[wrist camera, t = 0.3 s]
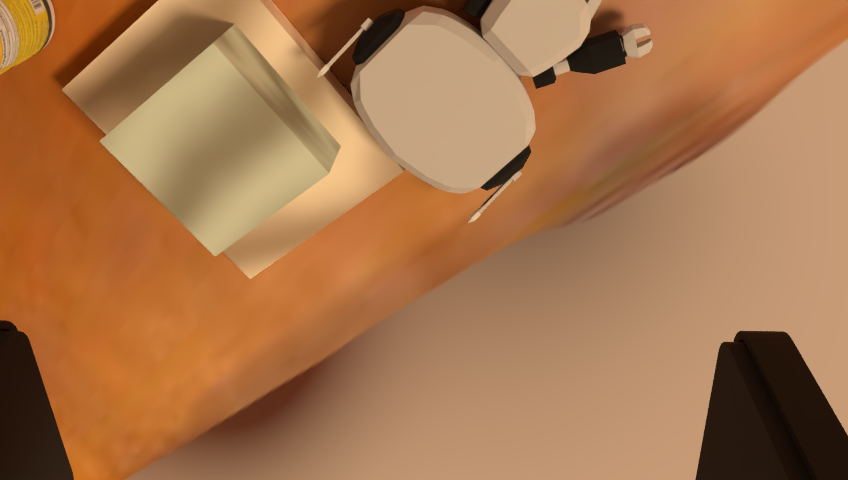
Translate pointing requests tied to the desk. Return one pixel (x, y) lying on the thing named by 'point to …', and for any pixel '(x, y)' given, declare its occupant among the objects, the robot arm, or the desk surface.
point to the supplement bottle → (24, 30)
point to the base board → (292, 61)
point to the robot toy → (472, 83)
